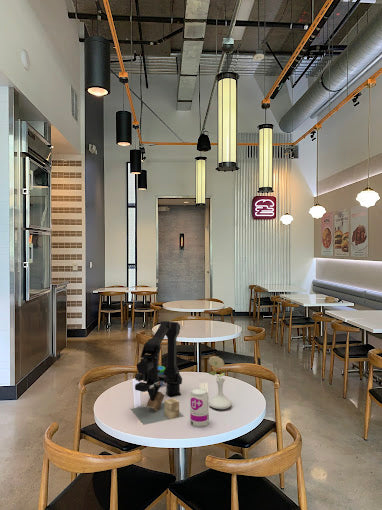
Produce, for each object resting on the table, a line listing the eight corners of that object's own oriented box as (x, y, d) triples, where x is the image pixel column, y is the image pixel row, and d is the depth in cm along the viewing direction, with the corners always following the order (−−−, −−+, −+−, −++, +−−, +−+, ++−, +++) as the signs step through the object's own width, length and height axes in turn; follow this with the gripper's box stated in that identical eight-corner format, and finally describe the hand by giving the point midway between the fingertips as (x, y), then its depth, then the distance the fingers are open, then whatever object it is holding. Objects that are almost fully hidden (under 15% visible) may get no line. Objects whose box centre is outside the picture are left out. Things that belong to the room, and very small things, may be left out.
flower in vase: (236, 406, 191) (235, 356, 191) (222, 413, 183) (222, 361, 183) (216, 400, 200) (215, 352, 200) (201, 406, 192) (201, 356, 192)
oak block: (173, 412, 183) (173, 398, 183) (179, 416, 179) (179, 401, 179) (164, 415, 180) (164, 400, 180) (170, 419, 176) (170, 403, 176)
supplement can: (203, 430, 165) (202, 395, 166) (186, 426, 170) (186, 392, 170) (212, 423, 172) (211, 390, 172) (196, 419, 177) (196, 386, 177)
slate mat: (168, 402, 197) (168, 401, 197) (184, 417, 179) (184, 416, 179) (130, 410, 188) (130, 408, 188) (143, 426, 170) (143, 424, 170)
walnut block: (150, 409, 188) (156, 393, 192) (158, 411, 185) (164, 395, 189) (146, 405, 185) (152, 390, 189) (153, 408, 182) (160, 392, 187)
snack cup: (140, 386, 222) (140, 369, 222) (148, 381, 232) (148, 364, 232) (164, 390, 216) (164, 372, 216) (172, 384, 226) (172, 366, 226)
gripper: (152, 361, 198) (152, 391, 198) (126, 370, 182) (126, 403, 182) (169, 364, 191) (169, 396, 191) (144, 374, 176) (144, 408, 176)
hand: (152, 400), depth 185 cm, fingers closed
